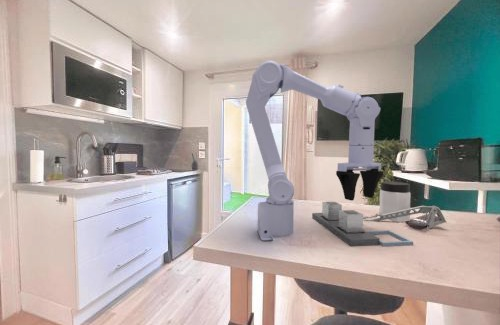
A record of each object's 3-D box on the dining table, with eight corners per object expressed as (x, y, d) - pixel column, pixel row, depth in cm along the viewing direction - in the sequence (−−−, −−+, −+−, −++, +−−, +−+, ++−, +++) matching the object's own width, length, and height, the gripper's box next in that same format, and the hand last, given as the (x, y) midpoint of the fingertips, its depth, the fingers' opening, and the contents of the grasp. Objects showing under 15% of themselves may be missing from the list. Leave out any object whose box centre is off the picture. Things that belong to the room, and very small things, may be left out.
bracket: (447, 223, 63) (430, 191, 64) (373, 249, 67) (358, 220, 68) (440, 220, 66) (424, 189, 67) (370, 245, 71) (355, 217, 71)
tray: (382, 250, 50) (382, 242, 50) (362, 238, 57) (362, 231, 57) (413, 249, 51) (413, 241, 50) (389, 236, 58) (389, 230, 58)
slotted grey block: (328, 225, 64) (328, 204, 63) (322, 221, 68) (322, 201, 67) (341, 225, 64) (341, 204, 64) (334, 221, 68) (335, 201, 68)
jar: (395, 214, 79) (396, 181, 79) (415, 221, 71) (417, 184, 71) (373, 215, 78) (374, 181, 77) (391, 222, 70) (392, 185, 69)
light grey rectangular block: (346, 239, 54) (347, 213, 54) (338, 233, 58) (339, 209, 57) (362, 238, 54) (363, 213, 54) (353, 232, 58) (353, 209, 58)
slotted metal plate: (350, 250, 50) (350, 239, 50) (312, 220, 72) (312, 213, 71) (379, 249, 50) (379, 238, 50) (332, 220, 72) (333, 212, 72)
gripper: (356, 144, 50) (354, 204, 51) (393, 146, 57) (391, 199, 57) (331, 145, 56) (329, 198, 57) (367, 146, 63) (366, 194, 64)
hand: (359, 198), depth 57 cm, fingers open, 7 cm apart
